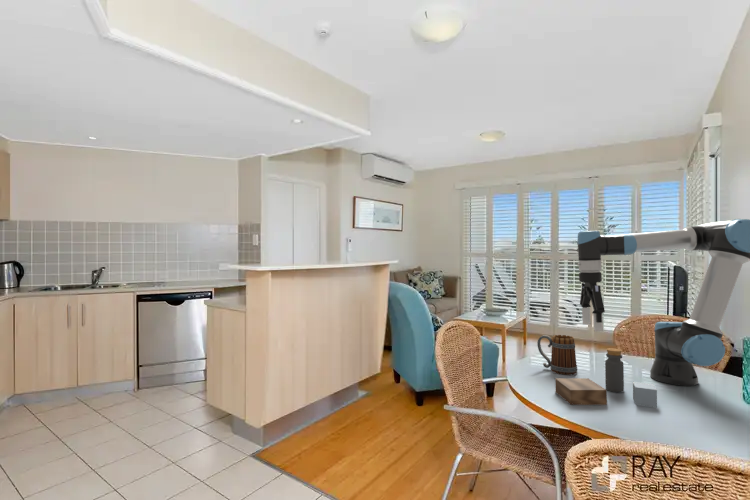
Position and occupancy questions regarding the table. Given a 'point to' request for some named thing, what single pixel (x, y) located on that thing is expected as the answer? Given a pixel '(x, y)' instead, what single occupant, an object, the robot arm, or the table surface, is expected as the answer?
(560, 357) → the mug
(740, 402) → the table surface
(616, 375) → the bottle
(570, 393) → the walnut block
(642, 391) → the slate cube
